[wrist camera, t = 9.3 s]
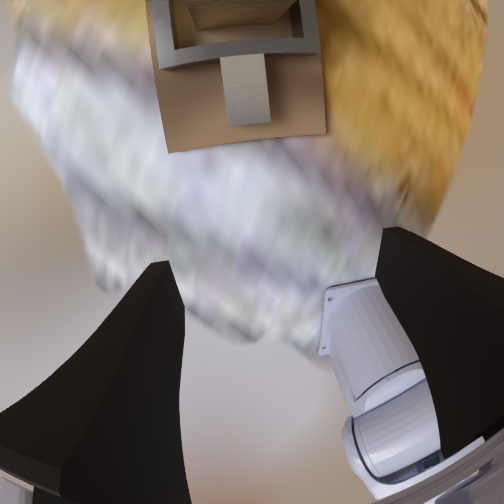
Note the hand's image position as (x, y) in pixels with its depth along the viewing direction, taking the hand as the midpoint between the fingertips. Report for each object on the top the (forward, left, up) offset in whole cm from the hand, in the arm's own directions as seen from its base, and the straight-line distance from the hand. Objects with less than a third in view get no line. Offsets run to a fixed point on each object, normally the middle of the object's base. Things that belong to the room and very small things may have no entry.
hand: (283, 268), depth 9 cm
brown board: (+12, 0, -9) cm, 15 cm away
